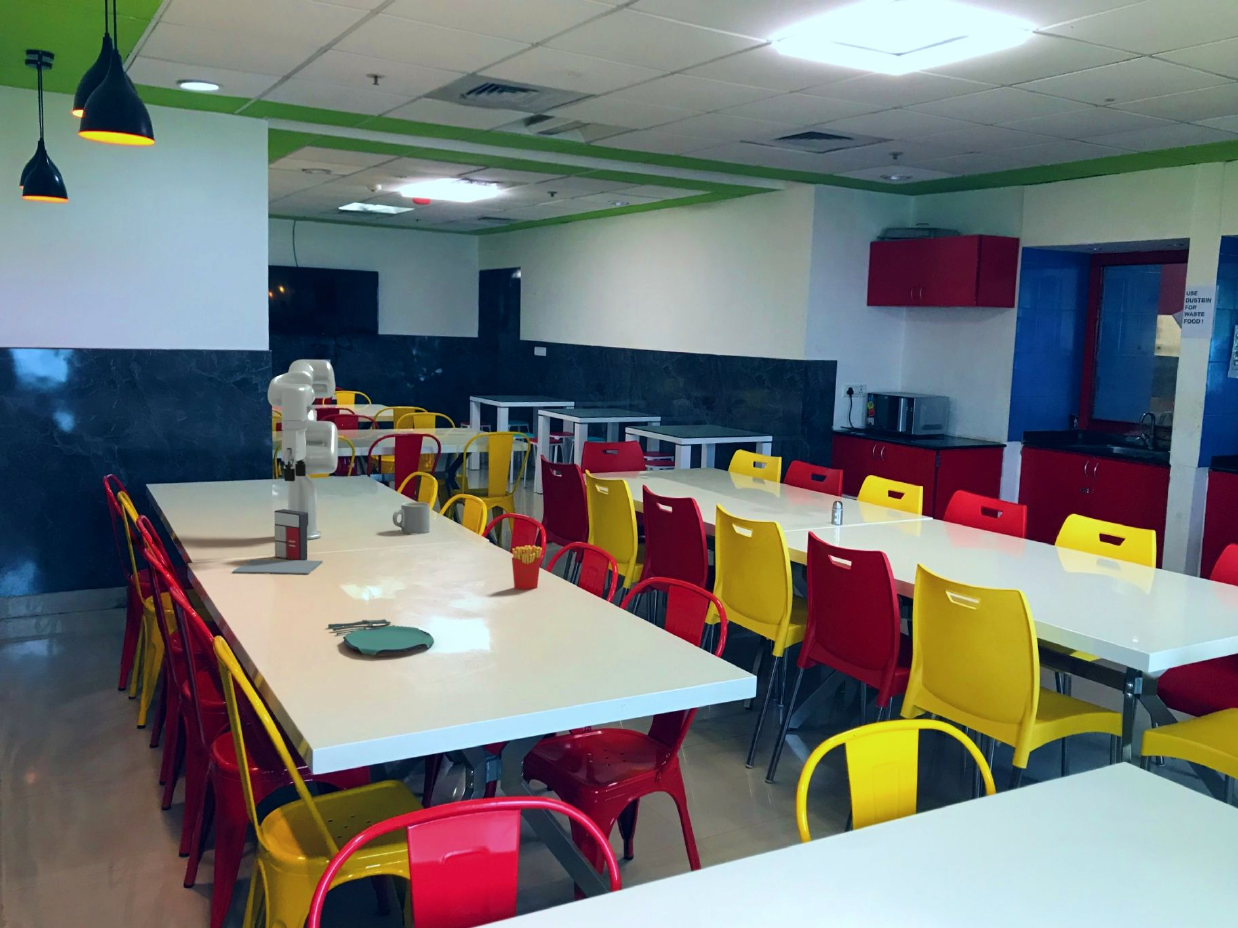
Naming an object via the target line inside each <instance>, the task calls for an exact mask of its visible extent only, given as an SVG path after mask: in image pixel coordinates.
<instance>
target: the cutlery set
mask: <svg viewBox="0 0 1238 928" xmlns="http://www.w3.org/2000/svg"><path fill="white" fill-rule="evenodd" d="M391 623H392V622H391V621H387V620H386V619H385V618H382V619H362V620H360V621H354V622H347V623H329V624H328V625H327V627H328V629H332V631H333V632H335V631H340V632H336V636H339V635H342V634H346V635H344V636H343V637H342V638H343V643H344V645H345V646H346V647H348V648H350V649H352V650H354V651H359V652H360V653H362V654H363V655H371V656H372V655H373V656H374V655H376V654H393V653H395V654H396V653H404V652H409V651H414V650H417V649H420V648H422V647H425V646H426V645H427V646H428V649H430V648H431V647H433V645H434V643H435V640H434V637H433V636H432V635H431V634H430V633H429V632H427V631H425V630H423V629H419V628H418V627H414V626H403V625H401V626H400V625H390V624H391ZM359 624H360V625H359ZM361 624H362V625H361ZM366 624H367V625H366ZM373 624H376V625H373ZM351 625H352V626H351ZM341 626H344V627H341ZM382 626H383V627H382ZM347 629H354V630H348V631H342V632H341V630H347Z"/></svg>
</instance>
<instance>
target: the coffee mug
mask: <svg viewBox="0 0 1238 928" xmlns="http://www.w3.org/2000/svg"><path fill="white" fill-rule="evenodd" d="M393 512H394V513H393V515H392V522H393V524H394V526H396V527H398V528H401V529H400V531H402V532H403V533H402V532H401V533H402V534H406V533H423V534H427V532H428V533H430V503H428V502H421V501H407V502H403V503H401V509H398V510H395V511H393ZM399 515H401V519H400V522H398V516H399Z"/></svg>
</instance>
